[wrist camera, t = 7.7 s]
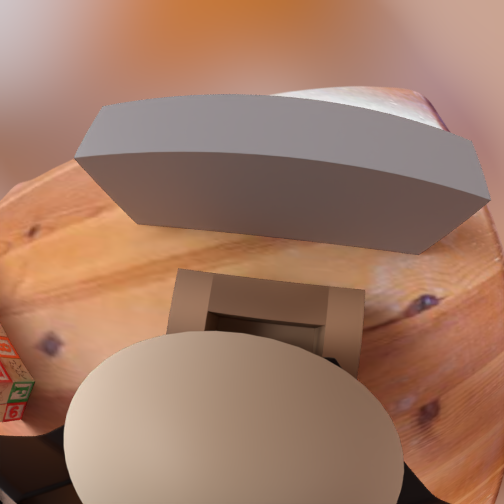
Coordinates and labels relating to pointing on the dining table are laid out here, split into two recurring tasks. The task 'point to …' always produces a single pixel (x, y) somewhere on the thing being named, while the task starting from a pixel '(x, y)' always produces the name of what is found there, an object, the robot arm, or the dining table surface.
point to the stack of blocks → (12, 381)
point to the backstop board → (284, 170)
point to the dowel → (228, 427)
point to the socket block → (272, 312)
